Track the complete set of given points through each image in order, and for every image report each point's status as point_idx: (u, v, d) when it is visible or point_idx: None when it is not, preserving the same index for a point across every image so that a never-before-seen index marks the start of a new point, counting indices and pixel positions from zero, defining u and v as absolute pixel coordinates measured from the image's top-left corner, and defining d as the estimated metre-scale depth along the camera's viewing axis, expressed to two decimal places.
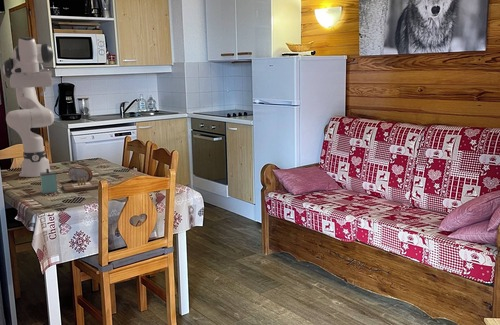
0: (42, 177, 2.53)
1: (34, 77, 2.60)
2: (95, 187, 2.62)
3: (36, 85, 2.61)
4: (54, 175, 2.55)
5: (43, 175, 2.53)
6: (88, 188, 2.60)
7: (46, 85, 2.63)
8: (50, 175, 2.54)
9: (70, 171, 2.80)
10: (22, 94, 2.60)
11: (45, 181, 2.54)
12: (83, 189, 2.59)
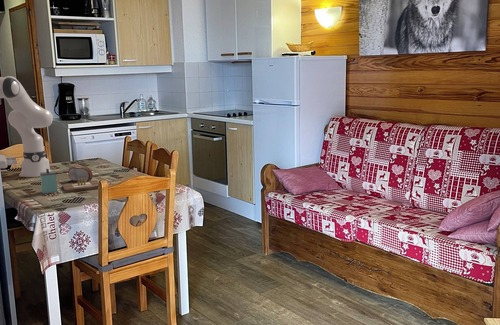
0: (42, 177, 2.53)
1: None
2: (95, 187, 2.62)
3: None
4: (54, 175, 2.55)
5: (43, 175, 2.53)
6: (88, 188, 2.60)
7: None
8: (50, 175, 2.54)
9: (70, 171, 2.80)
10: None
11: (45, 181, 2.54)
12: (83, 189, 2.59)
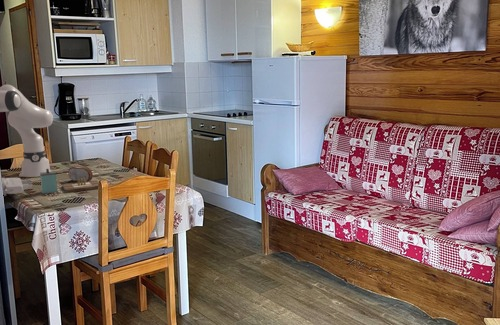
0: (42, 177, 2.53)
1: None
2: (95, 187, 2.62)
3: None
4: (54, 175, 2.55)
5: (43, 175, 2.53)
6: (88, 188, 2.60)
7: None
8: (50, 175, 2.54)
9: (70, 171, 2.80)
10: None
11: (45, 181, 2.54)
12: (83, 189, 2.59)
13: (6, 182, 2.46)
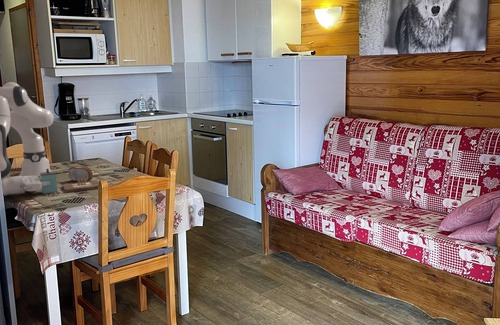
0: (42, 177, 2.53)
1: None
2: (95, 187, 2.62)
3: None
4: (54, 175, 2.55)
5: (43, 175, 2.53)
6: (88, 188, 2.60)
7: None
8: (50, 175, 2.54)
9: (70, 171, 2.80)
10: None
11: None
12: (83, 189, 2.59)
13: (24, 180, 2.50)
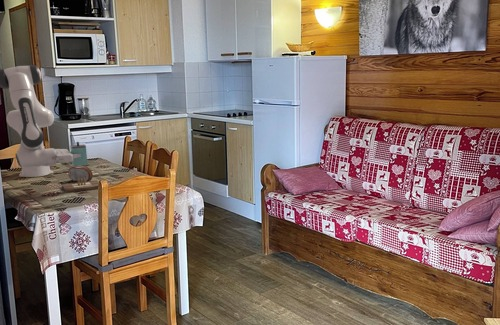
0: (73, 150, 2.58)
1: None
2: (95, 187, 2.62)
3: None
4: (84, 148, 2.60)
5: (74, 148, 2.58)
6: (88, 188, 2.60)
7: None
8: (80, 148, 2.59)
9: (70, 171, 2.80)
10: None
11: None
12: (83, 189, 2.59)
13: (56, 152, 2.55)
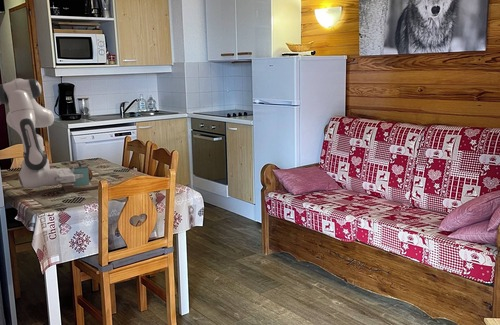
0: (75, 170, 2.60)
1: None
2: (95, 187, 2.62)
3: None
4: (86, 168, 2.62)
5: (76, 168, 2.60)
6: (88, 188, 2.60)
7: None
8: (82, 168, 2.61)
9: None
10: None
11: None
12: (83, 189, 2.59)
13: (58, 172, 2.57)
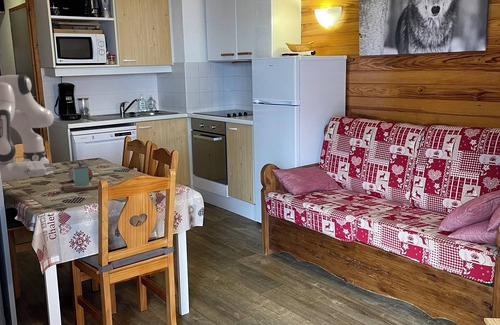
0: (75, 170, 2.60)
1: None
2: (95, 187, 2.62)
3: None
4: (86, 168, 2.62)
5: (76, 168, 2.60)
6: (88, 188, 2.60)
7: None
8: (82, 168, 2.61)
9: (70, 171, 2.80)
10: None
11: (78, 174, 2.61)
12: (83, 189, 2.59)
13: (29, 165, 2.50)
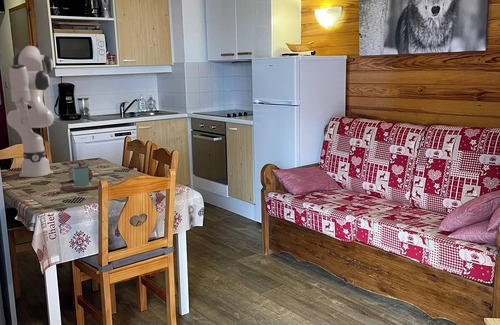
0: (75, 170, 2.60)
1: None
2: (95, 187, 2.62)
3: (19, 114, 2.53)
4: (86, 168, 2.62)
5: (76, 168, 2.60)
6: (88, 188, 2.60)
7: (20, 115, 2.48)
8: (82, 168, 2.61)
9: (70, 171, 2.80)
10: (21, 121, 2.60)
11: (78, 174, 2.61)
12: (83, 189, 2.59)
13: (27, 102, 2.54)
